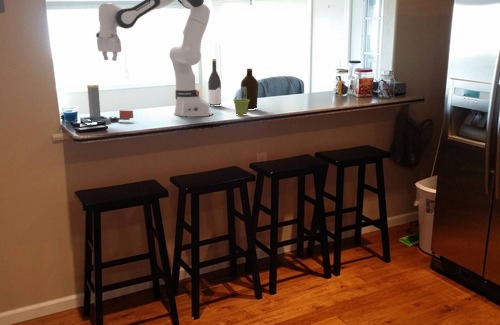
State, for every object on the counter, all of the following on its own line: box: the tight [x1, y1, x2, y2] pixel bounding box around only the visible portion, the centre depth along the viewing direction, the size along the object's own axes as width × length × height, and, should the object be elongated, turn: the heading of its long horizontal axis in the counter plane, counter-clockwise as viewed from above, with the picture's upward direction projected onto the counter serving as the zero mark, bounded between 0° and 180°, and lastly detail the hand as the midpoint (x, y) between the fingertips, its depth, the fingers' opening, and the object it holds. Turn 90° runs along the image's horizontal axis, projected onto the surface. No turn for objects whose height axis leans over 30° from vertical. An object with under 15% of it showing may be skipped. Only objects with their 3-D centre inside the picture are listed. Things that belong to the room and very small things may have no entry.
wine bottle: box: [207, 58, 222, 105], centre depth 316 cm, size 8×8×30 cm
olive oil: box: [240, 68, 259, 109], centre depth 300 cm, size 11×11×25 cm
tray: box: [80, 115, 112, 125], centre depth 256 cm, size 12×12×2 cm
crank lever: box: [108, 109, 134, 121], centre depth 260 cm, size 13×4×5 cm, turn 86°
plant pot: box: [233, 98, 250, 116], centre depth 282 cm, size 9×9×9 cm
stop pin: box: [87, 84, 102, 120], centre depth 254 cm, size 4×4×19 cm
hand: (110, 60), depth 269 cm, fingers open, 8 cm apart
